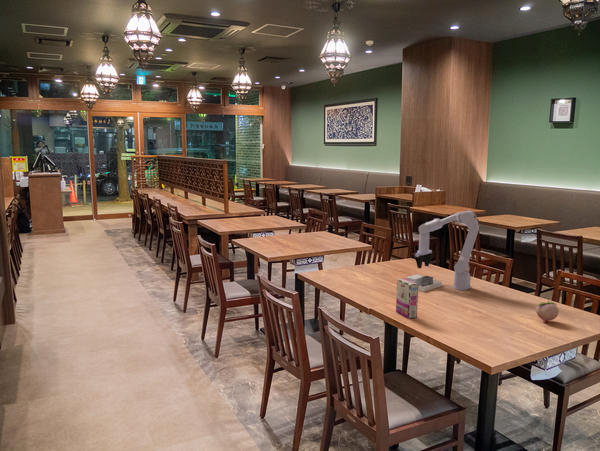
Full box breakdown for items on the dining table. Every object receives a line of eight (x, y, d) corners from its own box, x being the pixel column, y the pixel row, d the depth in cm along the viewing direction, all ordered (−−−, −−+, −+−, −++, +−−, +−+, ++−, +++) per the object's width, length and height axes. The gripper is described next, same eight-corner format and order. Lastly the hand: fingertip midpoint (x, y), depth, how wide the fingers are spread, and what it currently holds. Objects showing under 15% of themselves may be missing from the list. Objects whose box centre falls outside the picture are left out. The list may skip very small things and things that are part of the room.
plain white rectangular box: (415, 281, 282) (416, 274, 282) (424, 284, 278) (425, 276, 277) (406, 285, 276) (406, 277, 275) (414, 287, 271) (415, 279, 270)
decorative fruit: (545, 326, 213) (547, 304, 212) (531, 319, 221) (533, 298, 219) (562, 324, 216) (564, 302, 214) (548, 318, 224) (550, 297, 222)
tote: (417, 281, 286) (417, 276, 286) (441, 286, 275) (441, 281, 274) (399, 286, 274) (399, 281, 274) (424, 292, 262) (424, 287, 262)
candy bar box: (417, 318, 223) (419, 283, 221) (408, 319, 221) (409, 284, 219) (404, 310, 233) (405, 277, 231) (395, 311, 232) (396, 278, 229)
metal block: (425, 285, 274) (426, 275, 273) (432, 287, 271) (433, 277, 270) (421, 287, 271) (421, 276, 270) (428, 288, 268) (428, 278, 267)
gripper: (424, 241, 287) (424, 263, 289) (411, 244, 277) (410, 267, 279) (435, 243, 282) (434, 266, 284) (421, 246, 272) (420, 270, 274)
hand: (423, 267), depth 281 cm, fingers open, 7 cm apart
